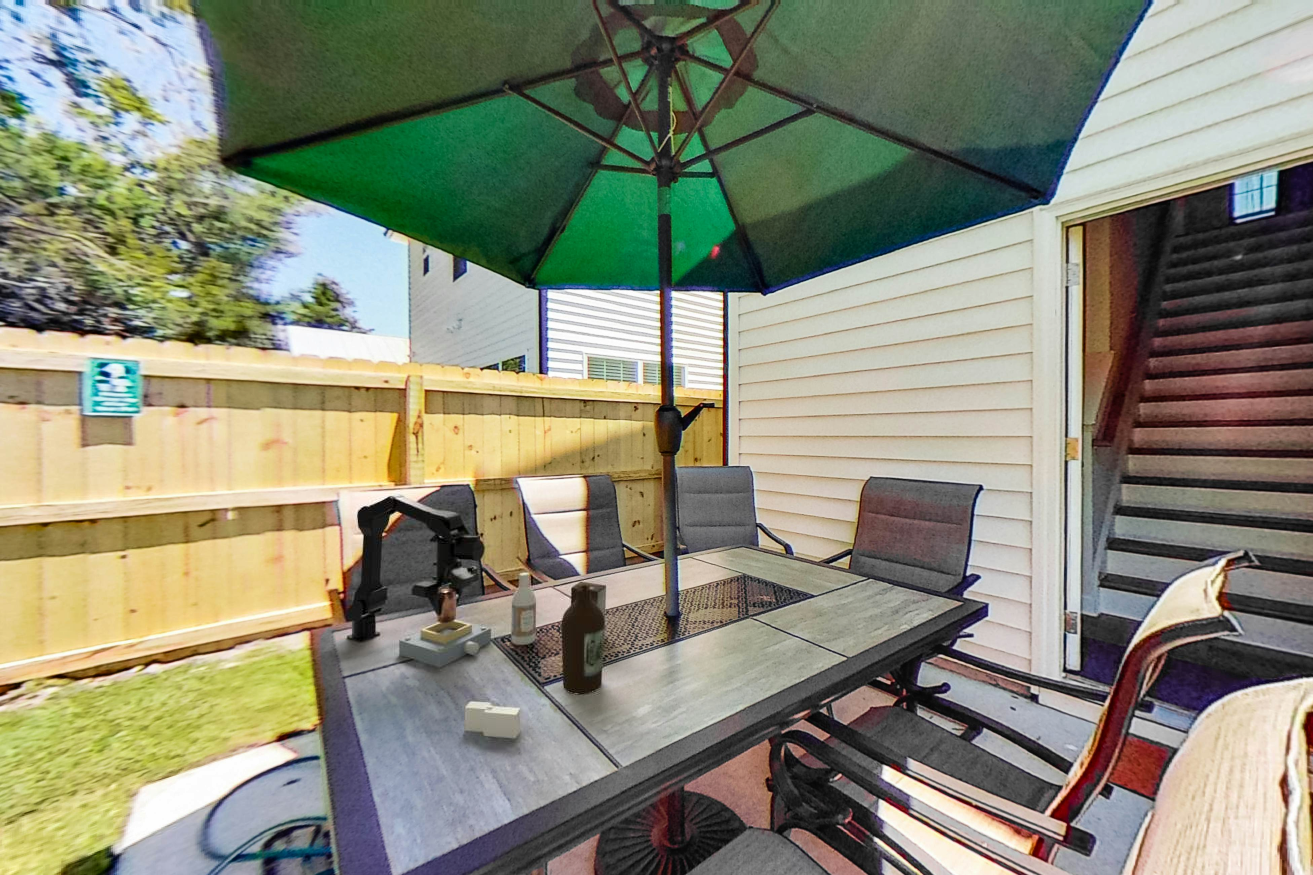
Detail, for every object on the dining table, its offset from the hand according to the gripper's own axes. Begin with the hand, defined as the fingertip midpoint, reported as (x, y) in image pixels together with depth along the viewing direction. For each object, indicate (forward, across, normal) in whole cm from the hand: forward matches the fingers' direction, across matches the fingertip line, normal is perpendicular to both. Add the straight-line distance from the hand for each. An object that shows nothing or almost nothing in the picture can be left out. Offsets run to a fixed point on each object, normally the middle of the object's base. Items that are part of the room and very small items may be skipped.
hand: (446, 612), depth 142 cm
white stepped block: (+11, -23, -40) cm, 47 cm away
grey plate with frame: (+10, 0, -2) cm, 10 cm away
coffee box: (+10, +24, -32) cm, 41 cm away
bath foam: (+10, +14, -16) cm, 24 cm away
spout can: (+2, 0, 0) cm, 2 cm away
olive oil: (+10, +1, -46) cm, 47 cm away
